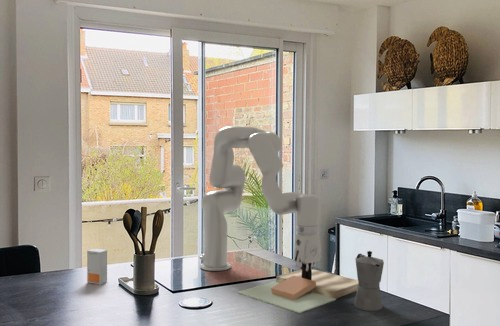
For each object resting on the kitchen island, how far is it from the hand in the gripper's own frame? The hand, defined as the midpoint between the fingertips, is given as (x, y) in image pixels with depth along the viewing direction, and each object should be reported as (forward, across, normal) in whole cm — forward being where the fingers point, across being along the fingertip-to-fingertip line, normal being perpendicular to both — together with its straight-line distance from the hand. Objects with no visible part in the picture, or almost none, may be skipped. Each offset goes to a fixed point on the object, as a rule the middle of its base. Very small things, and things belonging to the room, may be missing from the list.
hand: (306, 280), depth 185 cm
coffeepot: (+4, +1, -24) cm, 24 cm away
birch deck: (+3, +7, 0) cm, 8 cm away
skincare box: (+3, -49, +58) cm, 76 cm away
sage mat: (+3, -11, 0) cm, 12 cm away
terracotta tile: (+2, -7, 0) cm, 7 cm away
